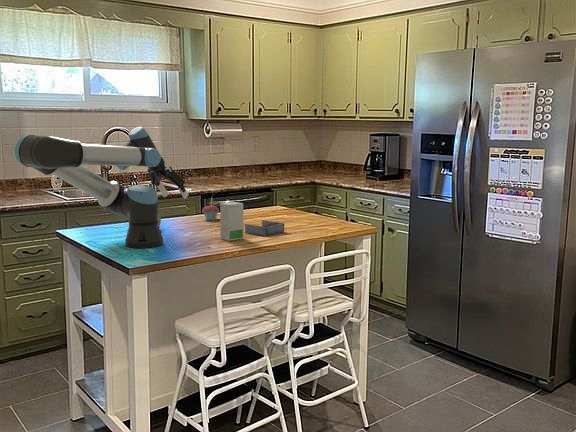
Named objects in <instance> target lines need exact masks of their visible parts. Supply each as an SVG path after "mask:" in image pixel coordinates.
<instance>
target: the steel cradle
mask: <svg viewBox="0 0 576 432" xmlns="http://www.w3.org/2000/svg"><path fill="white" fill-rule="evenodd" d="M284 232H285V223H284V222H279V221H278V222H277V221H272V220H265V219H262V220H261V225H257V224H256V225H255V224H249V223H245V224H244V233H245V234H249V235H256V236H262V237H270V236H273V235H277V234H281V233H284Z"/></svg>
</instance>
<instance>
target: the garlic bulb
mask: <svg viewBox="0 0 576 432" xmlns="http://www.w3.org/2000/svg"><path fill="white" fill-rule="evenodd" d="M161 223H162V218H161V214H159V212H158V226H159V229H160V228H161V226H160V225H161Z"/></svg>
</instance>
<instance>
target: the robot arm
mask: <svg viewBox="0 0 576 432" xmlns="http://www.w3.org/2000/svg"><path fill="white" fill-rule="evenodd" d="M127 135H128V139H129V140H128V141H127V142H126V143H125V144H124V145H123V146H121V145H107V144H91V143H90V144H89V143H87V144H86V143H81V142H80V141H79V140H73V139H67V138H66V139H65V138H61V137H58V136H50V135H36V134H27V135H24V136H22V137H20V138H19V139H18V140H17V141H16V143H15V146H14V156H15V158H16V160H17V162H18V163H19V164H20V165H22V166H23V167H25V168H32V169H34V170H36V171H38V172H39V173H41V174H43V175H45V176H50V175H53V176H55V177H57V178H59V179H60V180H63V182H66V183H68V184H70V185H71V186H73V187H75V188H76V189H78V190H80V191H81V192H84V193H86V194H87V195H89V196H91V197H93V198H94V199H96V200H97V203H98V204H99V206H101V207H102V208H103V209H104V210H105V211H106V212H108V213H110V214H111V215H114V216H123V217H128V229H127V231H126V237H125V240H124V242H125V245H124V246H126V247H128V248H133V249H146V248H147V249H148V248H155V247H160V246H162V245H163V244H164V237H163V235H162V232H161V229H160V228H159V226H158V213H159V209H158V208H159V205H158V204H159V203H158V201H159V198H158V193H157V190H156V189H154V187H151V186H143V185H133V186H129V187H126V186H124V185H123V184H121V183H119V182H118V181H115V180H111V181H109V180H107V179H105V178H104V177H102V176H100V175H99V174H97V173H96V172H94V171H92V170H90V169H89V168H87V167H85V166H86V165H87V166H90V165H91V166H116V167H117V168H118V169H120V170H122V171H124V170H127V169H128V168H129V167H147V172H148V174H149V179H150V183H151V185H152V186H153V185H154V186H156V187H157V189H158V190H159V192H160V193H161V195H162V196H163V198H166V197H167V196H168V195H169V192H168V190H167V189H166V187H165V186H164V184H163V182H161V178H164V179H165V180H169V181H170V182H171V183H172V184H173V185H175V186H176V187H177V190H178V191H179V193H180V195H182V198H183V199H184V200H185V199H187V198H188V196H190V195H189V193H188V191H187V189H186V188H185V184H186V181H185V180H184V179H183V178H182V177H181V176H180V175H179V174H178V173H177V172H176V171H174V169H173V168H172V167H171V166H169V167H167V166H166V165H165V164H166V162H165V160H164V158H163V157H162V155H161V152H160V151H159V149H158V148H157V147H156V145H155V143H154V142H153V139H152V138H151V136H150V134H149V133H148V132H147V130H146V129H145V128H144V127H143V126H138V127H135V128H132V129H131V130H130V131H129V133H128V134H127ZM84 165H85V166H84Z"/></svg>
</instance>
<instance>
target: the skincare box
mask: <svg viewBox="0 0 576 432" xmlns="http://www.w3.org/2000/svg"><path fill="white" fill-rule="evenodd" d="M219 207H220V209H219V210H220V211H219V213H220V215H219V217H220V218H219V219H220V220H219V221H220V223H219V224H220V240H224V241H228V242H230V241H236V240H237V241H238V239H239V240H244V203H242V202H235V201H233V202H220V203H219Z"/></svg>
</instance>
